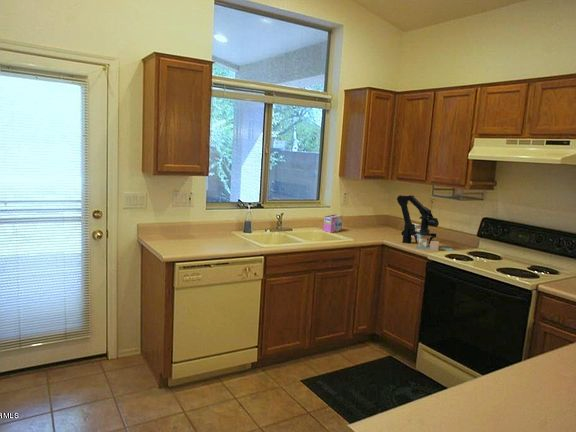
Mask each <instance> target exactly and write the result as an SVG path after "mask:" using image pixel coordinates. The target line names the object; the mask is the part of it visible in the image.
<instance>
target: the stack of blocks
mask: <svg viewBox="0 0 576 432" xmlns="http://www.w3.org/2000/svg"><path fill="white" fill-rule="evenodd" d="M411 223H412V224H414V225H415V228H416V229H415V231H417V232H420V229H421V224H418V223H413V222H411ZM411 237H412V240H415V237H414V236H413V235H411ZM419 238H426V239H427V240H428V235H426V236H424V235H419V234H417V241H419Z"/></svg>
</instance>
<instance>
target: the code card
mask: <svg viewBox="0 0 576 432" xmlns="http://www.w3.org/2000/svg"><path fill="white" fill-rule="evenodd" d="M428 245H429V244H427V246H426V247H420V246H418V244H416V248H415V249H419V250H427V251H431V250H430V245H429V246H428ZM439 248H440V247H438V249H439ZM433 251H434V252H437V251H436V250H432V252H433Z"/></svg>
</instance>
